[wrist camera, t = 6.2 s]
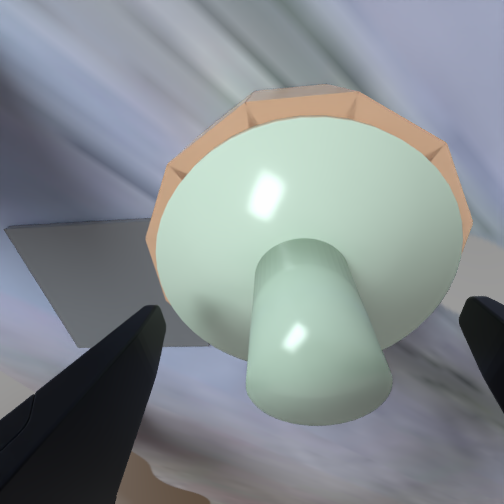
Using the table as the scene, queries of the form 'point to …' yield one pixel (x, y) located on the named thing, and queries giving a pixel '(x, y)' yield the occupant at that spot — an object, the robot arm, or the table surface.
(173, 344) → the mat
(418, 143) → the bowl
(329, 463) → the table surface
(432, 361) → the table surface
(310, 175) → the lid
